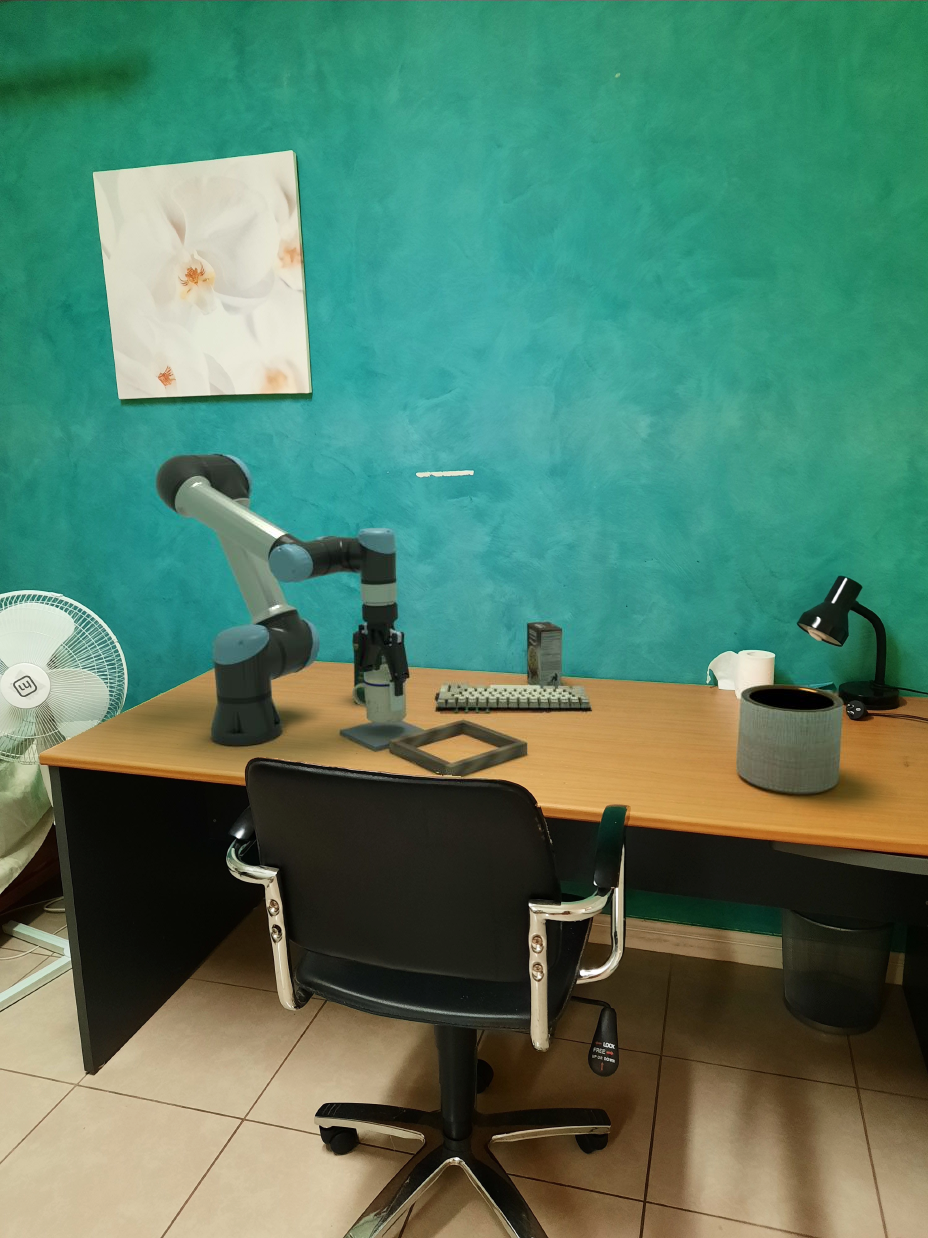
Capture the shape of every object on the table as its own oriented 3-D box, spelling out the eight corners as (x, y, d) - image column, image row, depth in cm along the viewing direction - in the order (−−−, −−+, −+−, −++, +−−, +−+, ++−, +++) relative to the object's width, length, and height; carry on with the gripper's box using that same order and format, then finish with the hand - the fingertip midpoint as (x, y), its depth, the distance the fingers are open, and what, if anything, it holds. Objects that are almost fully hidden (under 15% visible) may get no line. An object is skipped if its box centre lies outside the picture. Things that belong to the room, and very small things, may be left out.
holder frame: (450, 779, 158) (450, 767, 157) (389, 751, 173) (388, 740, 172) (527, 754, 170) (527, 742, 170) (464, 730, 185) (463, 719, 185)
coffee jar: (380, 706, 203) (377, 631, 200) (350, 704, 205) (346, 630, 202) (394, 695, 212) (392, 623, 209) (365, 693, 214) (362, 622, 211)
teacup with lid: (412, 712, 185) (411, 661, 183) (400, 725, 177) (398, 671, 174) (361, 709, 188) (359, 659, 186) (346, 722, 180) (343, 669, 177)
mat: (375, 751, 173) (375, 747, 173) (339, 734, 183) (339, 730, 183) (429, 736, 182) (429, 731, 182) (392, 721, 192) (392, 716, 192)
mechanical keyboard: (584, 692, 215) (584, 679, 214) (594, 716, 196) (594, 702, 195) (436, 694, 216) (436, 681, 215) (432, 718, 197) (431, 704, 196)
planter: (723, 784, 154) (727, 702, 151) (750, 754, 168) (754, 679, 165) (827, 805, 144) (833, 718, 141) (846, 772, 158) (852, 692, 155)
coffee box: (525, 682, 222) (525, 622, 219) (548, 680, 224) (548, 620, 221) (539, 691, 214) (539, 629, 210) (562, 689, 215) (563, 627, 212)
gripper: (425, 606, 171) (428, 712, 175) (366, 594, 187) (370, 691, 192) (394, 611, 166) (398, 720, 171) (336, 598, 183) (342, 697, 187)
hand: (383, 705), depth 181 cm, fingers closed on teacup with lid, 9 cm apart
